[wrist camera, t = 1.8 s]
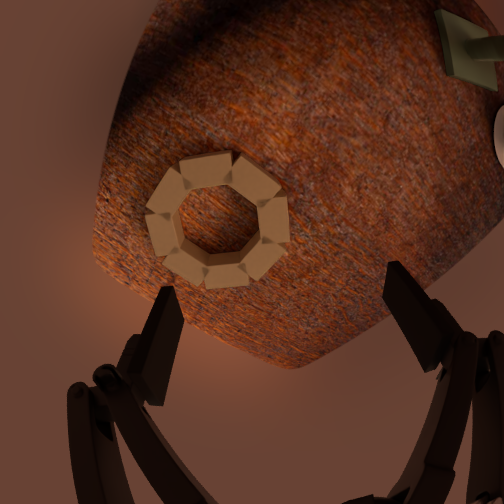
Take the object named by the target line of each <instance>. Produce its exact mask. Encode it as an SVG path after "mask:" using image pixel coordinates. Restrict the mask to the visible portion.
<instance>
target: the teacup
mask: <svg viewBox="0 0 504 504" xmlns="http://www.w3.org/2000/svg"><path fill="white" fill-rule="evenodd" d="M494 142H495V149H496V153H497V156H498V159H499V161H500V163H501V165H502V166H503V168H504V106H502V107H501V108H500V109H499V111H498V113H497V116H496V119H495V125H494Z"/></svg>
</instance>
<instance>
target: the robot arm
mask: <svg viewBox="0 0 504 504" xmlns="http://www.w3.org/2000/svg"><path fill="white" fill-rule="evenodd" d="M382 298H383V300H384V302H385V303H386V305H387V306H388V308H389V310H390V311H391V313H392V315H393V316H394V318H395V320H396V322H397V323H398V325H399V327H400V328H401V330H402V332H403V334H404V335H405V337H406V339H407V341H408V342H409V344H410V346H411V348H412V350H413V352H414V353H415V355H416V357H417V359H418V361H419V363H420V365H421V367H422V369H423V370H424V372H425V373H426V372H429V371H432V370H435V369H436V368H437V366H438V364H439V363H440V362H441V364H442V366H443V367H442V369H441V371H440V372H439V374H438V376H437V378H436V379H438V378H439V379H438V383H437V386H436V390H435V393H434V397H433V400H432V403H431V406H430V409H429V412H428V415H427V418H426V420H425V423H424V426H423V428H422V431H421V434H420V436H419V439H418V441H417V444H416V446H415V448H414V451H413V453H412V455H411V457H410V459H409V461H408V463H407V465H406V468H405V470H404V471H403V474H402V475H401V477H400V479H399V480H398V482H397V483H396V484H395V486H394V487H393V488H392V490H391V491H390V493H389V494H388V496H387V498H384V497H374V496H373V494H371V495H368V496H364V497H361V498H357V499H353V500H349V501H347V502H344V503H342V504H444V502H445V500H446V498H447V495H448V493H449V491H450V489H451V486H452V484H453V481H454V478H455V471H454V470H453V467H454V463H455V461H456V457H457V455H458V451H459V449H460V445H461V442H462V438H463V435H464V431H465V427H466V423H467V419H468V415H469V410H470V405H471V401H472V407H473V409H472V410H473V429H472V430H473V431H472V451H471V462H470V471H469V479H468V485H467V494H466V504H504V334H503V333H501V332H500V331H497V330H494V331H491V332H490V334H489V336H488V338H477V337H476V336H475V335H474V334H473V333H471V332H467V331H465V332H464V331H463V330H462V328H461V327H460V326H459V324H458V323H457V322H456V320H455V319H454V318H453V316H451V314H450V313H449V311H447V309H446V307H445V306H444V305H443V303H441V302H440V301H438V300H437V299H432V300H431V299H430V298H429V297H428V295H427V294H426V293H425V292H424V290H423V289H422V288H421V287H420V285H419V284H418V283H417V282H416V281H415V279H414V278H413V277H412V276H411V275H410V273H409V272H408V271H407V270H406V269H405V268H404V266H403V265H402V264H401V263H400V262H399V261H392V262H388V266H387V273H386V279H385V285H384V290H383V296H382ZM183 324H184V317H183V314H182V311H181V308H180V306H179V303H178V299H177V296H176V293H175V290H174V287H173V286H164V287H161V289H160V291H159V293H158V296H157V298H156V300H155V302H154V305H153V307H152V309H151V312H150V314H149V316H148V319H147V321H146V323H145V326H144V328H143V331H142V333H141V334H133V336H131V338H130V339H129V340H128V341H127V343H126V346H125V349H124V350H123V352H122V355H121V358H120V360H119V362H118V364H117V367H115V366H114V365H111V364H104V365H102V366H100V367H98V368H97V369H96V370H95V371H94V374H93V381H94V382H95V383H96V385H97V386H95V387H88V386H87V385H86V384H85V383H83V382H76V383H74V384H73V385H71V386H70V388H69V389H68V392H67V419H68V435H69V448H70V457H71V465H72V472H73V478H74V484H75V489H76V494H77V499H78V503H79V504H135V503H134V500H133V497H132V494H131V491H130V488H129V484H128V481H127V478H126V474H125V471H124V467H123V463H122V459H121V455H120V451H119V447H118V442H117V437H116V433H115V427H114V422H115V423H116V425H117V427H118V429H119V431H120V433H121V435H122V437H123V438H124V440H125V442H126V444H127V446H128V448H129V450H130V451H131V453H132V455H133V457H134V458H135V460H136V462H137V463H138V465H139V467H140V468H141V470H142V471H143V473H144V475H145V476H146V478H147V480H148V481H149V483H150V484H151V486H152V487H153V488H154V490H155V491H156V493H157V494H158V496H159V497H160V498H161V500H162V501H163V503H164V504H218V503H217V502H216V501H215V500H214V498H213V497H212V496H211V495H210V494H209V493H208V492H207V491H206V490H205V488H204V487H203V486H202V485H201V484H200V483H199V482H198V480H196V478H195V477H194V476H193V475H192V473H191V472H190V471H189V470H188V468H187V467H186V466H185V465H184V463H183V462H182V461H181V460H180V458H179V457H178V455H177V454H176V453H175V451H174V450H173V449H172V447H171V446H170V445H169V443H168V442H167V440H166V439H165V438H164V436H163V435H162V434H161V432H160V430H159V429H158V427H157V426H156V424H155V423H154V421H153V420H152V418H151V416H150V415H149V414H148V412H147V410H146V408H145V407H144V406H143V405H144V401H145V400H146V401H147V403H148V404H149V405H153V406H163V405H164V400H165V396H166V392H167V387H168V383H169V379H170V375H171V370H172V366H173V363H174V359H175V355H176V351H177V347H178V342H179V339H180V335H181V331H182V328H183Z"/></svg>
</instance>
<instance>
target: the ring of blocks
mask: <svg viewBox="0 0 504 504" xmlns="http://www.w3.org/2000/svg"><path fill="white" fill-rule="evenodd" d="M226 184H227V185H229V186H230V187H232V188H233V189H234V190H236V191H237V192H238V193H240V194H241V195H243V196H244V197H245V198H247V199H248V200H249V201H251V202H252V203H253V204H255V205H256V206H257V213H258V222H259V230H258V231H257V232H256V233H255V235H254V236H253V237H252V238H251V239H250V240H249V241H248V243H247V244H246V245H245V246H244V247H243V248H242V249H241V251H236V252H227V253H218V254H209V253H207V252H206V251H204V250H203V249H201V248H200V247H198V246H197V245H195V244H194V243H192V242H191V241H189V240H188V239H186V238H185V236H184V232H183V228H182V224H181V219H180V215H179V210H178V208H179V207H180V205H181V204H182V202H183V201H184V199H185V198H186V197H187V195H188V194H189V192H190V191H191V189H198V188H204V187H211V186H218V185H226ZM281 188H282V187H281V184H280V182H279V180H277V179H276V178H275V177H274V176H272V175H271V174H270V173H269V172H267V171H266V170H265V169H263V168H262V167H261V166H260V165H258V164H257V163H256V162H254V161H253V160H252V159H250V158H249V157H248V156H246V155H245V154H244V153H242V152H241V153H240V155H239V156H238V157H237V158H236V160H235V161H234V162H233V154H232V150H225V151H218V152H211V153H205V154H199V155H193V156H187V157H185V158H183V159H181V160H180V161H179V163H175V164H174V165H172V166H171V167H169V169H168V170H167V172H166V174H165V175H164V177H163V178H162V180H161V181H160V183H159V185H158V186H157V188H156V189H155V191H154V193H153V194H152V196H151V197H150V199H149V201H148V202H147V204H146V207H147V208H149V209H150V210H149V211H148V212H147V213H146V214H145V219H146V223H147V227H148V230H149V234H150V238H151V241H152V244H153V248H154V251H155V255H156V256H165V255H166V256H165V258H164V260H163V262H162V264H163V265H164V266H166V267H167V268H169V269H170V270H172V271H173V272H175V273H177V274H178V275H180V276H181V277H183V278H184V279H186V280H188V281H189V282H191V283H192V284H194V285H196V286H197V287H198V286H199V285H200V283H201V282H202V281H203V280H204V281H205V285H206V289H213V288H224V287H235V286H245V285H249V276H250V277H252V278H253V279H255V280H256V281H258V280H259V279H260V278H261V277H262V276H263V275H264V274H265V273H266V272H267V270H268V269H269V268H270V267H271V266H272V265H273V264H274V263H275V262H276V261H277V260H278V259H279V258H280V257H281V256H282V255H283V254H284V253H285V252H286V247H285V243H284V242H290V234H289V219H288V205H287V196H286V194H285V192H284V190H283V189H281Z"/></svg>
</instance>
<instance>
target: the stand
mask: <svg viewBox="0 0 504 504" xmlns="http://www.w3.org/2000/svg"><path fill="white" fill-rule="evenodd" d="M434 13H435V17H436V21H437V25H438V29H439V33H440V38H441V43H442V48H443V54H444V60H445V66H446V73H447V76H449V77H453V78H456V79H459V80H462V81H465V82H468V83H471V84H474V85H477V86H480V87H482V88H485V89H488V90H490V91H498V88H497V80H496V72H495V66H494V61H504V35H501V36H491V37H489V36H488V32H487V31H486V30H484V29H482V28H481V27H479V26H477V25H475V24H473V23H471V22H469V21H467V20H465V19H463V18H461V17H458V16H456V15H454V14H452V13H449V12H447V11H445V10H442V9H439V10H436V11H434Z"/></svg>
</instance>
